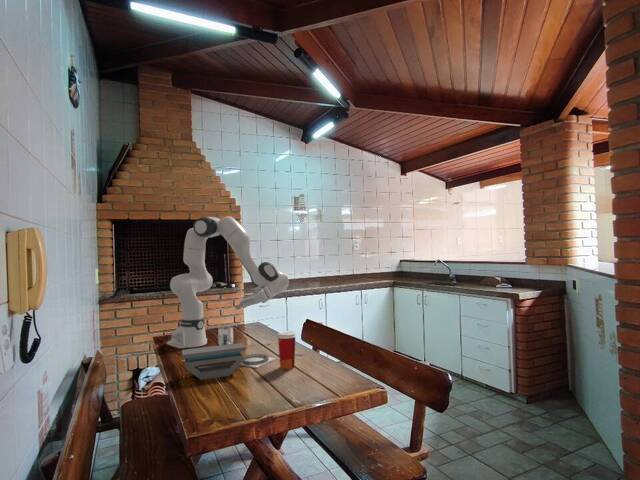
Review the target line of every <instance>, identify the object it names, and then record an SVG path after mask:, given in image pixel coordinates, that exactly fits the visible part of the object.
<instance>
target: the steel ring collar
mask: <svg viewBox="0 0 640 480" xmlns="http://www.w3.org/2000/svg"><path fill="white" fill-rule="evenodd" d="M253 357H262V358H265V359H264V360H260V361H245V359H248V358H253ZM269 357H270V356H269V355H267V354H262V353H252V354H248V355H247V354H246V355H243V362H242V363H243V364H247V365H257V364H263V363H265V362H267V361H268V360H269Z"/></svg>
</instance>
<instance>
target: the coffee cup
mask: <svg viewBox="0 0 640 480" xmlns="http://www.w3.org/2000/svg"><path fill="white" fill-rule="evenodd" d="M296 337H297V334H296V332H295V331H292V330H291V331H290V330H286V331H279V332H278V334H277V343H278V354H279V365H280V369H281V370H286V371H287V370H289V371H290V370H292V369H294V368H295V359H296V358H295V357H296Z"/></svg>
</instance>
